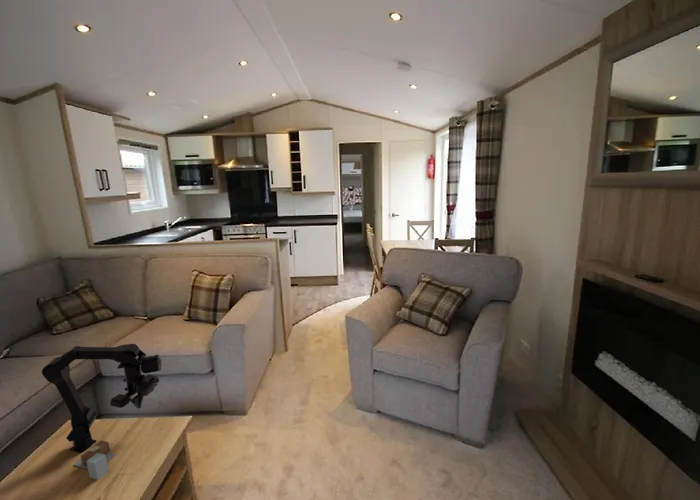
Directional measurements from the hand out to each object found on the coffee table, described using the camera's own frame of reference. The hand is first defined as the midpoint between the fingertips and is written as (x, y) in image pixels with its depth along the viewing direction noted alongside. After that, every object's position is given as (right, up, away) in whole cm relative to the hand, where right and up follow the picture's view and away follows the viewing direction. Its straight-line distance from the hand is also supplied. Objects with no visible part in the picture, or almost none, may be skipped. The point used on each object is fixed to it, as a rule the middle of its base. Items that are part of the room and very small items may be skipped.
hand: (138, 408), depth 142 cm
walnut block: (-9, -12, -8) cm, 16 cm away
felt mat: (-10, -15, -12) cm, 21 cm away
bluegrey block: (-3, -16, -18) cm, 24 cm away
